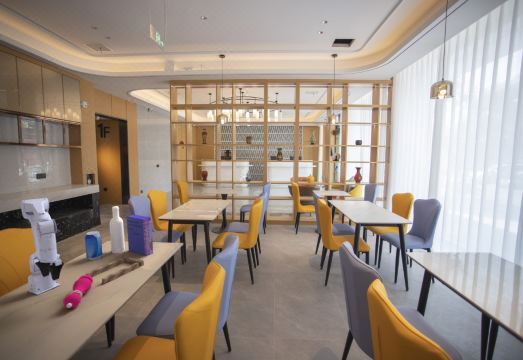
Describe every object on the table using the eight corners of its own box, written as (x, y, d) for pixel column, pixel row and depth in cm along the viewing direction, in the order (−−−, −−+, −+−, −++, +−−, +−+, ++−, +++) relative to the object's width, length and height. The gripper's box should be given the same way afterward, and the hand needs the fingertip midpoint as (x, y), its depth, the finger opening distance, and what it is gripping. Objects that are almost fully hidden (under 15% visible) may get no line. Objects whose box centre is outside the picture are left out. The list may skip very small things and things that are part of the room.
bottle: (114, 254, 162) (111, 208, 159) (109, 251, 167) (106, 207, 164) (127, 250, 169) (124, 206, 165) (121, 247, 173) (119, 204, 170)
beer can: (105, 255, 161) (103, 230, 160) (95, 260, 153) (93, 235, 151) (93, 254, 162) (91, 230, 160) (83, 260, 154) (80, 234, 152)
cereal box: (153, 253, 164) (151, 217, 162) (146, 255, 160) (144, 219, 157) (135, 248, 172) (133, 214, 169) (128, 251, 168) (126, 215, 165)
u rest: (104, 283, 126) (104, 279, 126) (86, 277, 133) (85, 273, 132) (143, 264, 148) (143, 260, 147) (126, 260, 154) (126, 256, 153)
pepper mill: (87, 290, 123) (70, 317, 104) (73, 283, 121) (53, 309, 102) (97, 278, 124) (82, 303, 105) (83, 271, 121) (65, 295, 102)
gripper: (68, 247, 111) (70, 276, 112) (49, 242, 117) (52, 270, 118) (49, 253, 104) (52, 284, 106) (30, 248, 110) (33, 277, 112)
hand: (51, 277), depth 112 cm, fingers open, 7 cm apart
